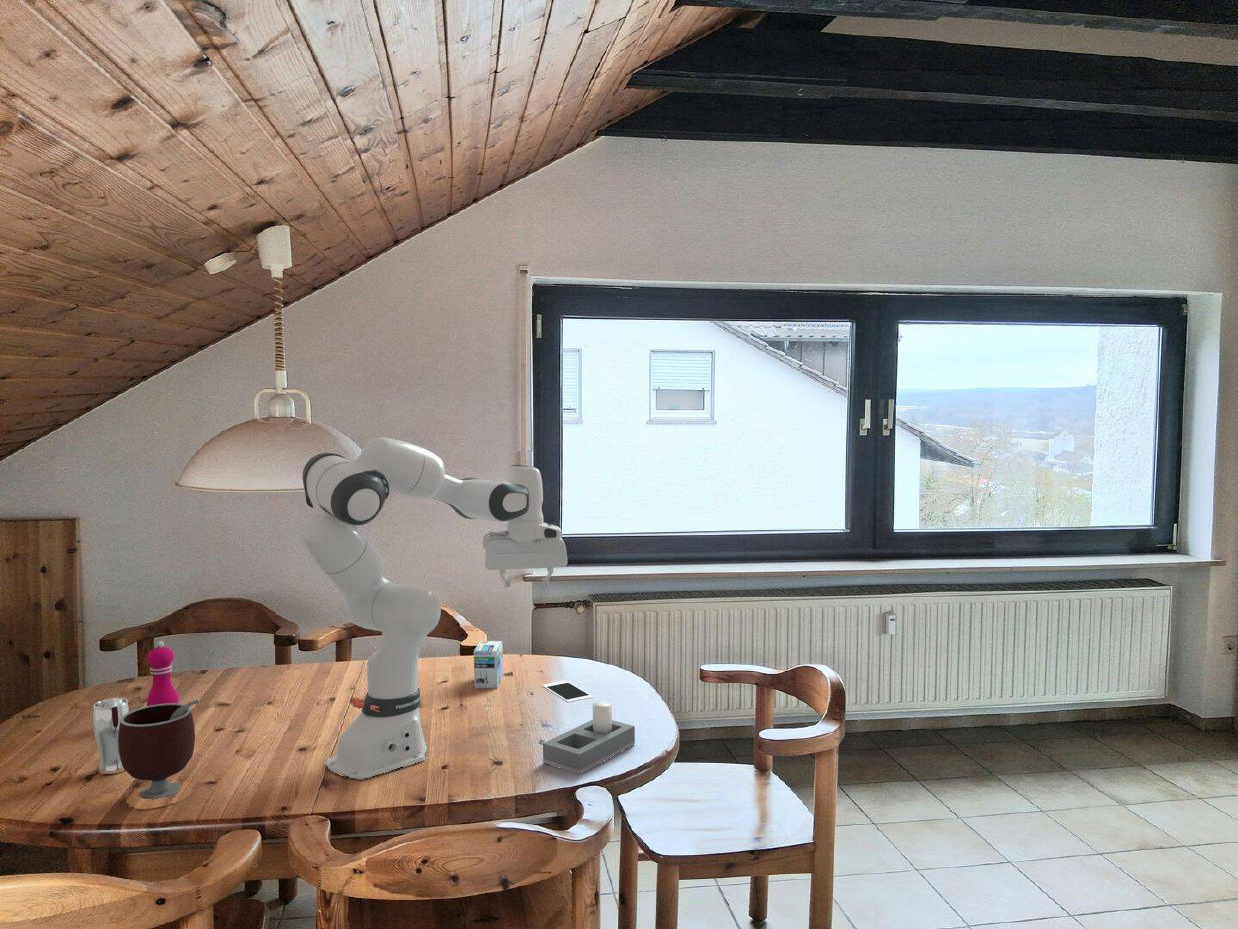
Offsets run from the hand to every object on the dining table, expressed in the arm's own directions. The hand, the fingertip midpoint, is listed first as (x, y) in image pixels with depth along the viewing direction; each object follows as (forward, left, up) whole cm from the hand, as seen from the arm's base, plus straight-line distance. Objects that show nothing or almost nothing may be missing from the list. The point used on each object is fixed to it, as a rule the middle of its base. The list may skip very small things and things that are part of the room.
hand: (526, 586), depth 219 cm
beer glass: (-74, +55, -34) cm, 98 cm away
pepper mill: (-52, +78, -34) cm, 100 cm away
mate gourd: (-74, +33, -34) cm, 88 cm away
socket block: (-7, -25, -34) cm, 43 cm away
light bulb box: (+16, +30, -34) cm, 48 cm away
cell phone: (+23, +7, -35) cm, 42 cm away
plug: (-2, -25, -33) cm, 41 cm away
